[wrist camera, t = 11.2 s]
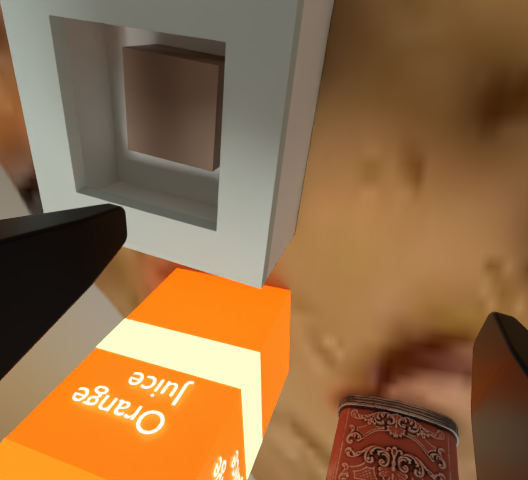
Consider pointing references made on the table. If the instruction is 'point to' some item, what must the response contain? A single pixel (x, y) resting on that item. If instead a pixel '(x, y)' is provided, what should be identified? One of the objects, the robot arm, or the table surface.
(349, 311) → the table surface
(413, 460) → the ornate red flask
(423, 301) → the table surface
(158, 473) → the orange juice
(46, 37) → the slot box
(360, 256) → the table surface
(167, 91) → the brown square block
